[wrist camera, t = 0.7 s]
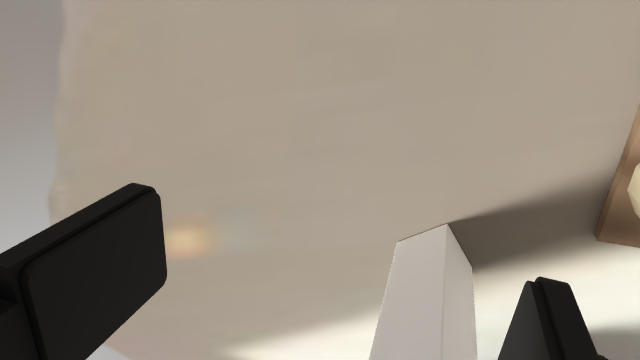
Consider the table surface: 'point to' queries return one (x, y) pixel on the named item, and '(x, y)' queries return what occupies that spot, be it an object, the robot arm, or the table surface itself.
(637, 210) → the tube
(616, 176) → the tube board
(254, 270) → the table surface
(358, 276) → the table surface
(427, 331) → the milk
